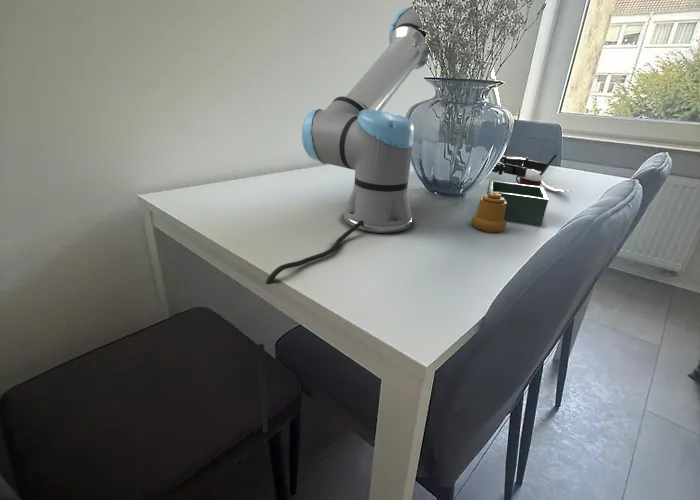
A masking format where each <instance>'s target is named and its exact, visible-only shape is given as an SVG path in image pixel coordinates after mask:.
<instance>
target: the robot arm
mask: <svg viewBox="0 0 700 500" xmlns="http://www.w3.org/2000/svg"><path fill="white" fill-rule="evenodd" d="M413 6H414V5H412V6H409V7H404V8H402V9H401V10H399V11H398V12H397V13H396V14H395V15H394V17H393V19H392V21H391V23H390V25H391V27H390V28H389V31H388V32H389V33H388V41H389V43H388V46H387V48H386V49H385V50H384V51H383V52H382V53H381V54H380V56H378V58H377V59H376V60H375V62H373V64H372V65H371V66H370V67H369V69H368V70H367V71H366V72H365V73H364V74H363V76H362V77H361V78H359V80H358V81H357V82H356V84H355V85H354V86H353V87H352V88H351V90H349V92H348V93H347V95H340V96H337V97H335V98H334V99H333V101H331V102H330V104H329V105H328V106H327V107H326V108H325V109H321V108H317V109H313V110H311V111H310V112H309V113H307V115H306V116H305V118H304V119H303V122H302V126H301V143H302V147H303V149H304V151H305V153H306V154H307V156H308V157H309V158H310V159H311V160H314V161H316V162H320V163H321V164H324V165H325V164H328V165H332V166H336V167H340V168H344V169H349V170H353V171H354V185H353V188H352V191H351V194H350V196H349V199H348V201H347V204H346V207H345V209H344V216H343V218H344V222H345V223H346V224H347V225H348V226H350V228H348V230H347V231H345V232H344V233H343V234H341V235H340V236H339V237H338V239H337V240H336V241H335V242H334V244H333V245H331V247H330V248H328V249H326V250H325V251H323V252H320V253H317V254H314V255H311V256H308V257H305V258H303V259H299V260H298V261H297V260H296V261H291V262H287V263H284V264H281V265H279V266H277V267H276V268H275V269H273V271H272V272H271V273H270V274H269V276H268V277H267V279H266V280H265V284H266V285H270V284H272V283H273V281H274V280H275V279H276V278H277V276H278V275H279V274H280V273H282V272H283V271H285V270H288V269H292V268H296V267H300V266H303V265H305V264H309V263H310V262H314V261H316V260H321V259H323V258H325V257H327V256H329V255H331V254H332V253H334V252H335V251H336V250H337V249H338V247H339V245H340V244H341V243H342V242H343V241H344V240H345V239H346V238H347V237H349V236H350V235H351V234H352V233H354V231H356V230H360V231H364V232H368V233H375V234H394V233H399V232H403V231H406V230H408V229H409V228H410V227H411V226H412V222H413V220H412V219H413V215H412V214H413V213H412V210H411V209H412V208H411V204H410V199H409V194H408V186H409V178H410V169H411V163H412V156H413V155H412V153H413V147H414V145H415V142H414V141H415V140H414V135H415V127H414V124H413V122H412V121H411V120H410V119H409V118H408V117H406V116H403V115H401V114H397V113H394V112H389V111H383V109H384V108H385V106H386V105H387V104H388V103H389V101H390V100H391V99H392V97H393V96H394V95H395V94H396V93H397V91H398V90H399V89H400V87H401V86H402V85H403V84H404V82H405V81H406V80H407V79H408V78H409V76H410V75H411V73H412V72H413V71H414V70H419V69H421V68H423V67H424V66H425V65H426V64H427V63H428V61H429V60H430V59H431V58H432V57H431V53H430V50H429V47H428V45H427V44H426V43H425V41H424V38H425V36H426V32H425V31H422V30H419V29H418V28H420V27H422V23H421V22H420V17H419V15H417V14H416V12H411V14H410V11H411V9H412V8H413ZM417 6H418V7H417V12H420V7H422V10H423V11H424V12H430V8H429V6H428V5H427V6H420V5H417ZM427 18H428V19H429V18H430V15H429V14H428V16H427ZM415 42H416V44H417V46H418V47H415V45H414V43H415ZM488 48H489V47H488ZM422 57H423V58H422ZM494 71H495V70H494V68H493V69H492V72H491V74H490V77H489V78H490V79H495V80H496V76H495V72H494ZM488 98H489V101H490V102H491V103H493V104H497V105H500V106H501V103H500V97H499V92H498V87H496V88H494V89H492V90H491V92H490V94H489V97H488ZM502 155H503V156H502V158H501V159H500V161H499V162H498V163H497V164H496V166H495V167H494V169H493V170H492V171H491V172H493V173H497V174H498V175H499V176H500V175H503V174H507V175H512V176H516V177H517V176H520V177H525V174H526V171H527V170H530V169H534V170H536V171H538V172H540V173H541V172H542V170H543V169H544V168H545V166H546V165H547V164H548V163H547V162H542V161H537V160H531V159H529V158H530V157H529V156H526V157H518V156H513V155H512V156H510V155H504V154H502ZM520 177H519V178H520ZM258 371H259V373H258V374H259V386H260V387H259V388H260V400H261V402H260V403H261V416H262V433H264V434H266V433H268V408H267V406H268V404H267V403H268V402H267V390H266V375H265V374H266V372H265V344H262V343H258Z"/></svg>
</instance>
